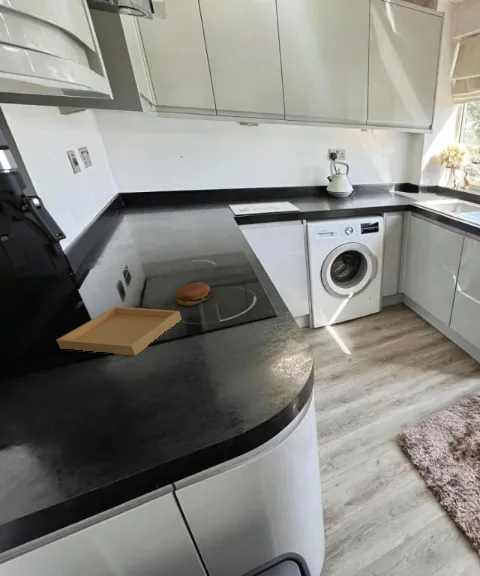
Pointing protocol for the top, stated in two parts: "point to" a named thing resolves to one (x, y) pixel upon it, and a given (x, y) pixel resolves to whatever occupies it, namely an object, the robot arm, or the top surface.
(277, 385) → the top surface
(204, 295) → the burger
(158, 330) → the tray
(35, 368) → the top surface
